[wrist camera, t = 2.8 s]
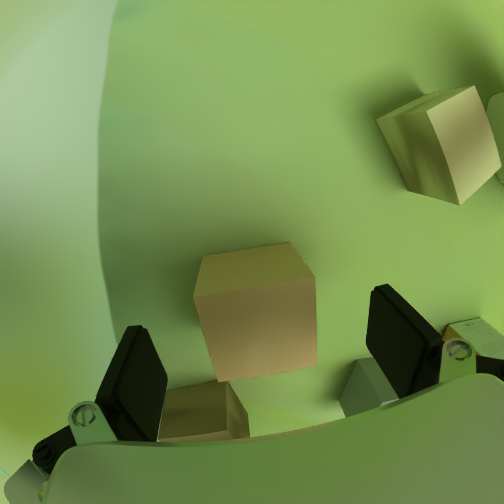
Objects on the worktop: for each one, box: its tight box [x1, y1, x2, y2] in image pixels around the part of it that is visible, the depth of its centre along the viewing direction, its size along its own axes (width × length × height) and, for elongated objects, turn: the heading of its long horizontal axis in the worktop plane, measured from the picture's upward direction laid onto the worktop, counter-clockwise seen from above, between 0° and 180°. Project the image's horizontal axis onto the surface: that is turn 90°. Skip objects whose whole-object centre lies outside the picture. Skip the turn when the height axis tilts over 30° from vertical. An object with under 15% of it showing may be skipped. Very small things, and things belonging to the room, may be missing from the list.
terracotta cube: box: [193, 242, 317, 382], centre depth 14 cm, size 5×5×5 cm
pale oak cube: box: [376, 85, 502, 205], centre depth 12 cm, size 5×5×5 cm
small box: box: [442, 318, 504, 360], centre depth 15 cm, size 8×6×13 cm
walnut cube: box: [158, 380, 250, 442], centre depth 17 cm, size 5×5×5 cm
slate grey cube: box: [339, 358, 399, 418], centre depth 18 cm, size 5×5×5 cm
